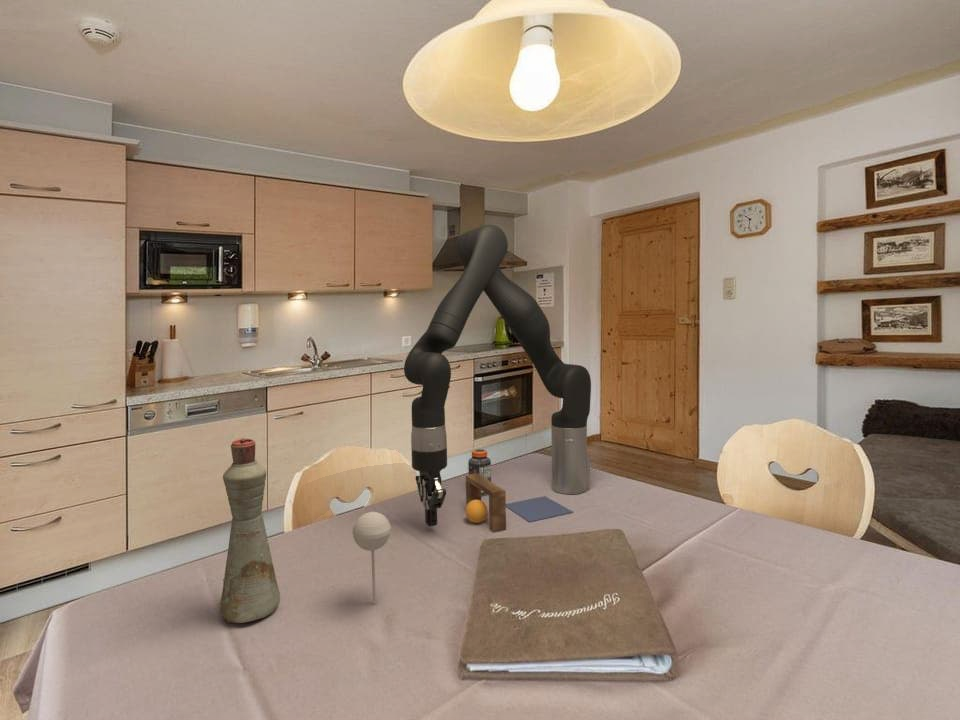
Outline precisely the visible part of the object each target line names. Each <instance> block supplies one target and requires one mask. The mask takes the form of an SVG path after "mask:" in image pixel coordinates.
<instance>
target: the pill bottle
mask: <svg viewBox="0 0 960 720" xmlns="http://www.w3.org/2000/svg"><path fill="white" fill-rule="evenodd" d="M467 463H468V475H469V474H476V473H478V474H479V475H481V476H483V477H484V478H486V479H487V480H489V481H491V482H492V461H491V459H490V458H489V457H488V450H487V449H485V448H475V449H473V450H471V457H470V458H469V460H468V462H467ZM481 495H484V496H488V495H487V494H486V493H484V492H483V491H481Z"/></svg>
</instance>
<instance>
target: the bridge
mask: <svg viewBox="0 0 960 720" xmlns="http://www.w3.org/2000/svg"><path fill="white" fill-rule="evenodd" d="M481 491H483V492H484V493H486V494H487V495H486V496H488V513H489V514H488V517H489V530H490V531H491V532H492V533H499V532H502V531H506V530H507V510H506V509H507V507H506V504H507V503H506V500H507V499H506V489H504V488H502V487H501V486H499V485H497V484H496V483H494V482H492V480H491V481H489V480H487V479H486V478H484V477H483V476H481V475H479V474H478V473H476V474H469V473H468V474H465V497H466V498H465V499H466V500H465V501H466V503H465V504H466V506H467V504H468V503H469V502H471V501H472V500H481V501H482V496H481ZM466 506H465V507H466Z"/></svg>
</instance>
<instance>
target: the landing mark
mask: <svg viewBox="0 0 960 720" xmlns="http://www.w3.org/2000/svg"><path fill="white" fill-rule="evenodd" d="M506 509H508V510H510V511H512V513H515V514H516V515H517V516H519V517H521V518H522V519H524V520H525V521H527V522H528V523H533V522H538V521H541V520H546V519H550V518H554V517H559V516H564V515H568V514H573V513H574V511H572V510H571V509H569V508H568V507H566V506H564V505H562V504H560V503H559V502H556V501H554V500H553V499H551V498H549V497H548V496H546V495H545V496H544V495H543V496H540V497H539V496H538V497H535V498H528V499H523V500H519V501H514V502H510V503H509V502H508V503H506Z"/></svg>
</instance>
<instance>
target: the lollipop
mask: <svg viewBox="0 0 960 720" xmlns="http://www.w3.org/2000/svg"><path fill="white" fill-rule="evenodd" d="M352 528H353V529H352V537H353V539H354V542H355V544H356V545H357V546H358V547H359V548H360V549H363V550H365V551H368V552H371V554H370V555H371V578H372V580H371V581H372V582H371V583H372V604H373V605H376V604H377V592H376V589H377V588H376V565H375V564H376V563H375V551H377V550H379V549H382V548H383V547H384V546H385V545H386V543H388V541H389V539H390V536H391V532H392V529H391V528H392V527H391V524H390V521H389V520H388V518H387V517H386V516H385V515H384V514H382V513H380V512H376V511H370V512H366V513H364V514H362V515H361V516H360V517H359V518H358V519H357V520H356V521H355V523H354V525H353V527H352Z"/></svg>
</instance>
